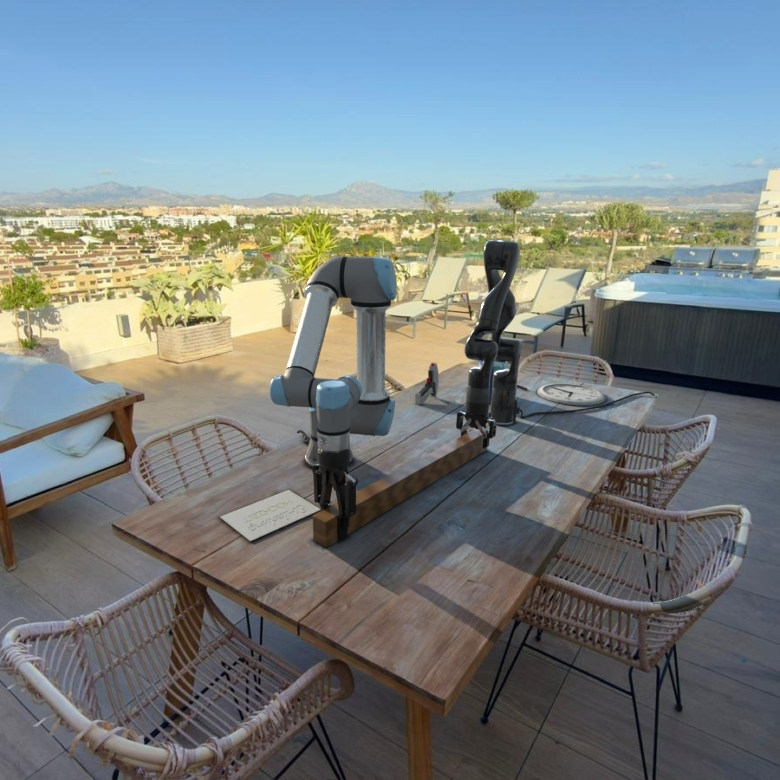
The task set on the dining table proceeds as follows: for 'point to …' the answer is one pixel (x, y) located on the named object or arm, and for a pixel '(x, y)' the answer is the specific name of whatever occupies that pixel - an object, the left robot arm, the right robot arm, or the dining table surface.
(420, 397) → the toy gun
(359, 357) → the left robot arm
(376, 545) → the dining table surface
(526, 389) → the ruler
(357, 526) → the bar
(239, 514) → the invitation card
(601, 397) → the wall clock
